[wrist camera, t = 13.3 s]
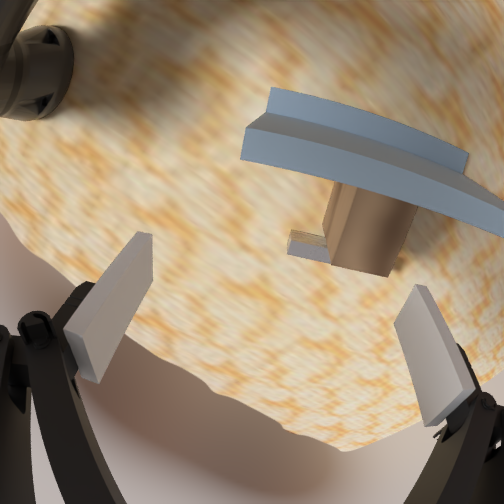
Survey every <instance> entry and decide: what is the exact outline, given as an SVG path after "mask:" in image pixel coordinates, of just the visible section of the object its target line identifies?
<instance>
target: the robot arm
mask: <svg viewBox="0 0 504 504" xmlns="http://www.w3.org/2000/svg"><path fill="white" fill-rule="evenodd" d="M37 2H38V0H0V117H3V118H9V119H14V120H20V121H31V120H35V119H39V118H42V117H44V116H46V115H48V114H49V113H51V112H52V111H53V110H54V109H55V108H56V107H57V106H58V104H59V103H60V102H61V100H62V98H63V97H64V95H65V93H66V91H67V88H68V86H69V83H70V80H71V76H72V71H73V49H72V44H71V42H70V39H69V37H68V36H67V34H66V33H65V32H64V31H63V30H62V29H60V28H58V27H55V26H46V25H41V26H35V27H32V28H29V29H27V30H24V31H21V32H19V31H20V30H21V28H22V26H23V24H24V23H25V21H26V19H27V18H28V16H29V14H30V13H31V11H32V9H33V8H34V6H35V5H36V3H37ZM152 282H153V257H152V234H149V233H144V232H139V231H138V232H137V233H136V234H135V235H134V236H133V237H132V239H131V240H130V241H129V242H128V243H127V245H126V246H125V247H124V248H123V250H122V251H121V252H120V253H119V254H118V256H117V257H116V258H115V259H114V261H113V262H112V263H111V264H110V266H109V267H108V268H107V270H106V271H105V272H104V273H103V275H102V276H101V277H100V279H99V280H98V281H97V283H92V282H88V281H85V282H84V283H82V284H81V285H79V286H78V287H76V288H75V290H74V291H73V292H72V293H71V295H70V297H68V299H67V300H66V301H65V304H63V305H62V306H61V308H60V309H59V310H58V312H57V313H56V314H55V316H54V317H53V318H52V320H51V318H50V316H49V315H48V314H47V313H45V312H42V311H32V312H30V313H27V314H26V315H24V316H23V317H22V318H21V320H20V321H19V323H18V328H17V329H18V331H19V333H20V336H14V335H10V333H9V331H8V329H7V328H6V327H5V326H3V325H0V504H36V501H35V493H34V485H33V475H32V461H31V434H30V420H31V418H30V417H31V393H32V396H33V401H34V405H35V410H36V415H37V419H38V423H39V427H40V430H41V435H42V439H43V442H44V446H45V449H46V452H47V455H48V459H49V462H50V465H51V468H52V471H53V473H54V476H55V479H56V482H57V484H58V487H59V489H60V492H61V495H62V497H63V500H64V502H65V504H127V503H126V501H125V500H124V498H123V496H122V494H121V492H120V490H119V488H118V486H117V484H116V482H115V480H114V478H113V476H112V474H111V472H110V470H109V468H108V465H107V463H106V461H105V459H104V457H103V454H102V452H101V450H100V447H99V445H98V442H97V440H96V438H95V435H94V433H93V430H92V427H91V425H90V422H89V419H88V416H87V414H86V411H85V408H84V405H83V402H82V399H81V396H80V393H79V389H78V386H77V383H76V380H75V377H74V376H75V374H76V372H77V371H78V369H79V372H80V374H81V377H82V378H84V379H87V380H90V381H92V382H95V383H98V384H99V383H100V381H101V378H102V377H103V375H104V373H105V371H106V368H107V366H108V364H109V362H110V360H111V358H112V356H113V354H114V352H115V351H116V348H117V346H118V345H119V342H120V341H121V339H122V337H123V335H124V333H125V331H126V329H127V327H128V325H129V324H130V322H131V320H132V318H133V316H134V314H135V312H136V311H137V309H138V307H139V305H140V303H141V301H142V300H143V298H144V296H145V294H146V292H147V291H148V289H149V287H150V285H151V284H152ZM394 326H395V329H396V332H397V335H398V338H399V341H400V344H401V347H402V350H403V353H404V356H405V359H406V362H407V365H408V368H409V372H410V375H411V378H412V382H413V385H414V389H415V392H416V396H417V399H418V403H419V407H420V411H421V414H422V418H423V422H424V426H425V427H428V426H437V425H439V424H440V423H441V422H442V421H443V420H444V419H445V418H446V420H447V424H446V425H445V426H444V427H443V428H442V429H441V430H440V431H438V432H437V433H436V434H435V435H434V436H433V438H435V437H437V436H438V435H439V434H440V436H439V438H438V439H437V443H436V445H435V447H434V449H433V451H432V453H431V455H430V457H429V459H428V461H427V463H426V465H425V467H424V469H423V471H422V473H421V474H420V477H419V478H418V480H417V482H416V483H415V485H414V487H413V489H412V490H411V492H410V494H409V496H408V497H407V499H406V500H405V502H404V504H504V406H500V405H497V403H496V401H495V399H494V398H493V396H491V395H490V394H489V393H487V392H482V390H481V388H480V385H479V383H478V381H477V378H476V376H475V373H474V371H473V369H472V368H471V364H470V362H468V358H467V355H466V353H465V351H464V350H463V349H462V348H461V346H460V345H459V344H457V343H456V342H455V340H454V338H453V336H452V334H451V332H450V330H449V328H448V326H447V324H446V322H445V320H444V318H443V316H442V314H441V312H440V310H439V308H438V306H437V304H436V302H435V301H434V299H433V297H432V295H431V293H430V292H429V290H428V288H427V286H422V285H417V284H415V286H414V287H413V289H412V291H411V293H410V295H409V297H408V299H407V301H406V302H405V304H404V306H403V308H402V309H401V311H400V313H399V315H398V317H397V318H396V320H395V322H394ZM500 440H501V446H500V447H498V448H497V449H496V444H497V443H498V442H499V441H500Z"/></svg>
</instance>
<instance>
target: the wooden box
mask: <svg viewBox="0 0 504 504" xmlns="http://www.w3.org/2000/svg"><path fill="white" fill-rule="evenodd" d="M417 208H418V206H417V205H414V204H411V203H408V202H405V201H402V200H399V199H396V198H392V197H389V196H386V195H383V194H379V193H376V192H372V191H369V190H366V189H362V188H359V187H355V186H351V185H348V184H344V183H340V182H337V181H335V183H334V187H333V190H332V193H331V197H330V200H329V204H328V207H327V210H326V214H325V217H324V220H323V223H322V225H323V229H324V234H325V238H326V243H327V248H328V252H329V257H330V262H331V265H333V266H338V267H342V268H347V269H351V270H356V271H360V272H365V273H369V274H374V275H378V276H383V277H387V278H388V276H389V274H390V272H391V270H392V267H393V265H394V263H395V261H396V259H397V256H398V254H399V252H400V250H401V247H402V245H403V243H404V240H405V238H406V235H407V233H408V231H409V228H410V226H411V223H412V221H413V218H414V215H415V213H416V210H417Z"/></svg>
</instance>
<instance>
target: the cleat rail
mask: <svg viewBox="0 0 504 504" xmlns="http://www.w3.org/2000/svg"><path fill="white" fill-rule="evenodd" d="M287 254H288V255H293V256H297V257H302V258H306V259H311V260H315V261H320V262H324V263H329V264H331V262H330V257H329V252H328V248H327V243H326V238H325V237H321V236H317V235H313V234H308V233H304V232H299V231H295V230H291V231H290V235H289V239H288V243H287Z"/></svg>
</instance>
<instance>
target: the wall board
mask: <svg viewBox="0 0 504 504" xmlns="http://www.w3.org/2000/svg"><path fill="white" fill-rule="evenodd" d="M468 155H469V153H468V152H466V151H463V150H461V149H459V148H457V147H455V146H453V145H451V144H449V143H447V142H444V141H442V140H440V139H438V138H435V137H433V136H431V135H428V134H426V133H424V132H421V131H419V130H416V129H414V128H411V127H409V126H406V125H404V124H401V123H398V122H396V121H393V120H390V119H387V118H385V117H382V116H379V115H376V114H373V113H370V112H367V111H364V110H361V109H357V108H354V107H351V106H347V105H344V104H341V103H337V102H334V101H330V100H326V99H322V98H319V97H315V96H311V95H306V94H302V93H298V92H293V91H289V90H284V89H279V88H274V87H271V90H270V95H269V100H268V105H267V110H266V112H265V113H264V114H263V115H261V116H260V117H259V118H257V119H256V120H255V121H254V122H252V123H251V124H250V125H248V126H247V127H246V130H245V135H244V141H243V146H242V152H241V157H240V160H246V161H251V162H256V163H260V164H265V165H270V166H274V167H279V168H284V169H288V170H292V171H297V172H301V173H305V174H309V175H313V176H317V177H321V178H325V179H329V180H333V181H337V182H340V183H344V184H348V185H351V186H355V187H359V188H362V189H366V190H369V191H372V192H376V193H379V194H383V195H386V196H389V197H392V198H396V199H399V200H402V201H405V202H408V203H411V204H414V205H417V206H420V207H423V208H426V209H429V210H432V211H435V212H438V213H440V214H443V215H446V216H449V217H452V218H454V219H457V220H460V221H462V222H465V223H468V224H470V225H473V226H475V227H478V228H480V229H483V230H485V231H488V232H490V233H493V234H495V235H498V236H500V237H502V238H504V201H503V200H501V199H500V198H498V197H497V196H495V195H494V194H492V193H491V192H489V191H488V190H486V189H485V188H483V187H482V186H480V185H479V184H477V183H476V182H474V181H473V180H471V179H469V178H468V177H466V176H465V175H463V174H462V173H463V170H464V167H465V164H466V161H467V158H468Z"/></svg>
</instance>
